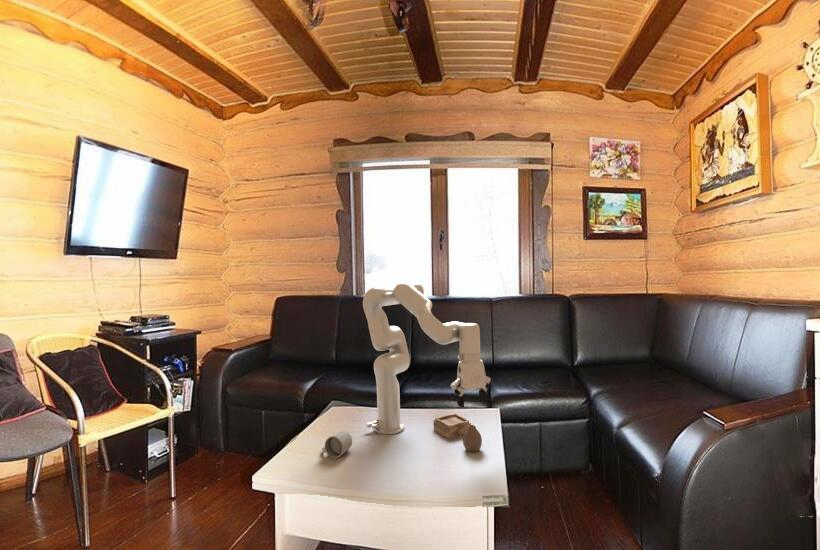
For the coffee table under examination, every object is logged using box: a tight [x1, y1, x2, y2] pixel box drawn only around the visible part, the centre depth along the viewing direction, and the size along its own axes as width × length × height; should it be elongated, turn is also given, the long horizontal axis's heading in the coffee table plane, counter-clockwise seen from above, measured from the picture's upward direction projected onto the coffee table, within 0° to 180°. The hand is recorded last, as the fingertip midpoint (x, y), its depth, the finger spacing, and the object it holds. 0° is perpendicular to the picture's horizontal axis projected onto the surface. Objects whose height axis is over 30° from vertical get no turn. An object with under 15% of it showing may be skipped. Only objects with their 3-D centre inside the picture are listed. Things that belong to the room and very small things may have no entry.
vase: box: [462, 424, 483, 453], centre depth 149 cm, size 7×7×9 cm
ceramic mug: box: [321, 430, 353, 459], centre depth 149 cm, size 11×8×8 cm
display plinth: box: [433, 413, 472, 440], centre depth 166 cm, size 11×11×5 cm
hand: (471, 403), depth 149 cm, fingers open, 9 cm apart
